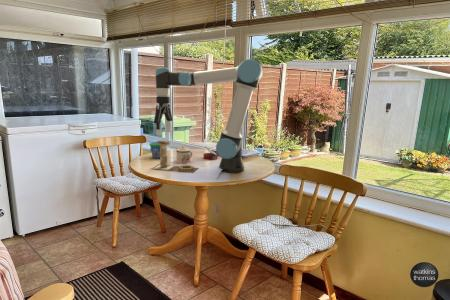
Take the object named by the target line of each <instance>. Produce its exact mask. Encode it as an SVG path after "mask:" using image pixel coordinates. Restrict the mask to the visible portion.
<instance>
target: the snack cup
mask: <svg viewBox="0 0 450 300" xmlns="http://www.w3.org/2000/svg"><path fill="white" fill-rule="evenodd" d="M149 146H150V152H151V156H152V158H153V159H160V144H157V141H153V142H149Z"/></svg>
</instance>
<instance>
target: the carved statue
mask: <svg viewBox="0 0 450 300" xmlns="http://www.w3.org/2000/svg"><path fill="white" fill-rule="evenodd" d="M156 142H157V144H160V158H159V159H160V160H159V163H160V167H161V168H167V165H168V146H169V145H170V144H171V143H170V141H168V140H167V141H166V140H165V141H163V140H157V141H156Z"/></svg>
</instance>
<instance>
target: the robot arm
mask: <svg viewBox="0 0 450 300" xmlns="http://www.w3.org/2000/svg"><path fill="white" fill-rule="evenodd" d="M263 73H264V69H263V67H262V65H261V64H260V62H259V61H258V60H256V59H253V58H252V59H251V58H247V59H244V60H243V61H241V62H240V63H239V65H237V66H236V67H228V68H226V67H225V68H219V69H209V70H202V71H201V70H200V71H191V72H189V71H184V70H183V71H170V68H169V67H157V68H156V69H155V88H156V89H155V93H156V94H155V95H156V103H157V104H156V106H155V113H154V120H153V123H154V124H155V133H156V136H162V118H163V116H165V131H166V132H165V133H171V132H172V122H173V115H172V111H171V105H170V102H171V98H170V96H171V89H170V86H177V87H178V86H182V87H191V86H198V85H199V86H200V85H201V86H202V85H210V84H218V83H219V84H220V83H227V82H228V83H229V82H230V83H231V82H235V84H236V91H235V95H234V98H233V101H232V105H231V108H230V112H229V115H228V118H227V122H226V124H225V129H224V130H223V129H222V131H221V133H220V137H219V140H218V141H217V142H216V145H215V149H216V150H215V151H216V154H217V156H219V157H220V158H221V159H220V162H219V165H218V167H219V169H221V172H224V173H229V174H230V173H234V174H235V173H242V172H244V170H245V165H244V161H243V157H242V151H243V133H242V128H243V125H244V122H245V119H246V116H247V112H248V109H249V106H250V102H251V99H252V95H253V92H254V91H255V90H257V89H258V85H259V82H260V80H261V78H262V77H263V75H264V74H263Z"/></svg>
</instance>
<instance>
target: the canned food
mask: <svg viewBox="0 0 450 300" xmlns="http://www.w3.org/2000/svg"><path fill="white" fill-rule="evenodd" d="M204 147H205V149H206V150H207V151H208V152H205V153H203V159H204V160H205V161H206V160H207V161H215V160H217V159H218V153H217V152H215V151H213V150H211V149H210V148H209V147H208V146H204Z"/></svg>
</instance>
